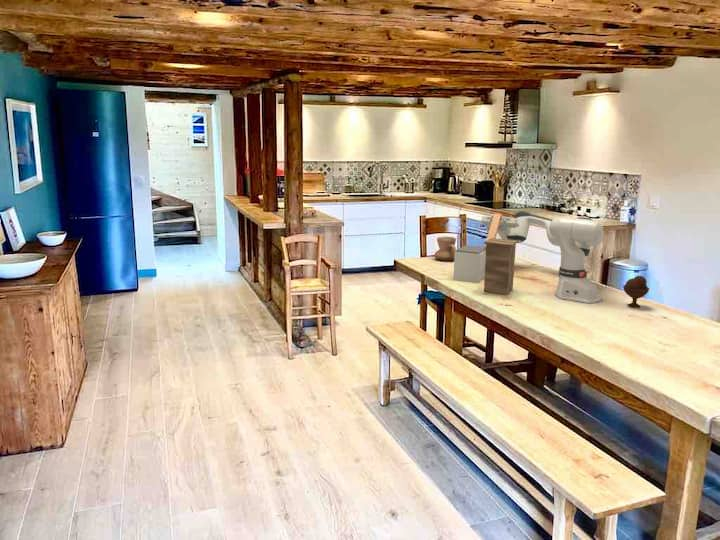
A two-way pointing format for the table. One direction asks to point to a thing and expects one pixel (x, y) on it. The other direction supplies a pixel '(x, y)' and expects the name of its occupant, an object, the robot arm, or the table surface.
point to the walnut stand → (499, 265)
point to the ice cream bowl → (636, 289)
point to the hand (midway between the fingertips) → (496, 216)
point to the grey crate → (469, 263)
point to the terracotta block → (494, 227)
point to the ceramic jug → (446, 248)
